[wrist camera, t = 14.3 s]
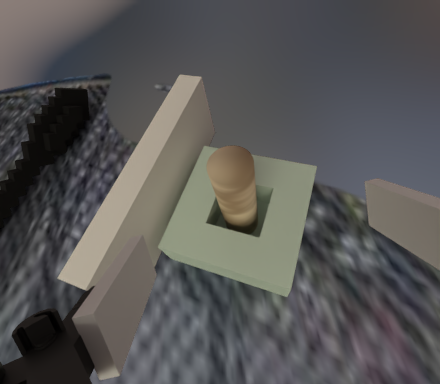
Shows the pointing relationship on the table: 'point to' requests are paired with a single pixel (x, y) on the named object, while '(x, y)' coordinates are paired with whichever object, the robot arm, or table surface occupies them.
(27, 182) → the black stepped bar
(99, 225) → the backstop board
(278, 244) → the socket block
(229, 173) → the wooden cylinder peg
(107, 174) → the table surface
